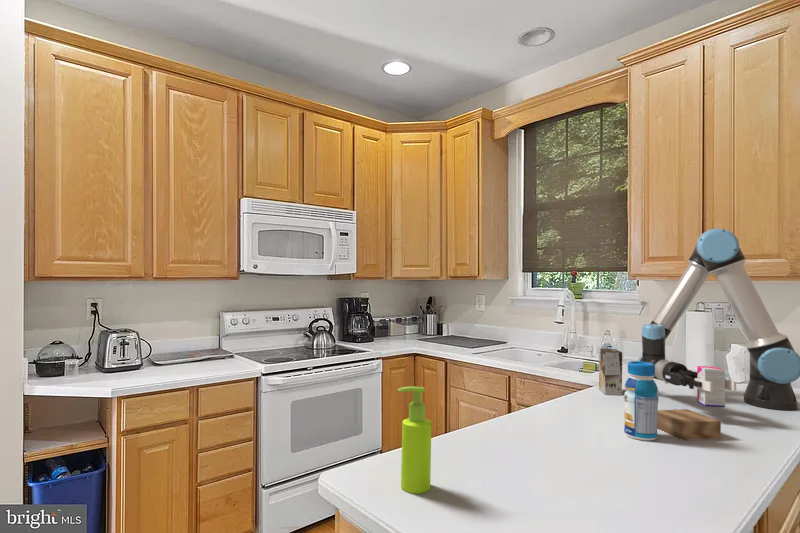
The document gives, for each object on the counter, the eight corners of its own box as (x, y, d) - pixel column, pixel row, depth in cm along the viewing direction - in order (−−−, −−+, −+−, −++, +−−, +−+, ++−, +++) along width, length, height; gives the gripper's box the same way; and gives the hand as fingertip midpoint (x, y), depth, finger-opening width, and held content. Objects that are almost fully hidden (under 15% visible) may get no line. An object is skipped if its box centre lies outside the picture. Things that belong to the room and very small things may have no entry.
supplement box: (726, 407, 145) (725, 369, 146) (704, 406, 147) (703, 368, 147) (717, 402, 151) (716, 366, 151) (696, 402, 152) (695, 365, 153)
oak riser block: (686, 426, 144) (687, 409, 144) (720, 439, 132) (720, 421, 132) (651, 427, 142) (651, 410, 142) (682, 441, 130) (682, 422, 130)
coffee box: (622, 395, 180) (623, 352, 180) (604, 394, 180) (605, 351, 181) (615, 390, 189) (615, 348, 189) (598, 389, 190) (598, 348, 190)
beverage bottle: (650, 443, 126) (651, 367, 127) (618, 435, 133) (618, 362, 133) (663, 437, 132) (663, 363, 132) (631, 429, 138) (632, 359, 139)
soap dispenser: (394, 481, 100) (396, 384, 100) (427, 480, 101) (429, 384, 101) (397, 493, 94) (399, 390, 95) (432, 493, 95) (434, 390, 95)
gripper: (698, 382, 168) (754, 398, 145) (644, 384, 166) (692, 400, 143) (698, 361, 168) (753, 373, 145) (644, 362, 166) (692, 374, 143)
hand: (723, 386), depth 144 cm, fingers closed on supplement box, 7 cm apart
